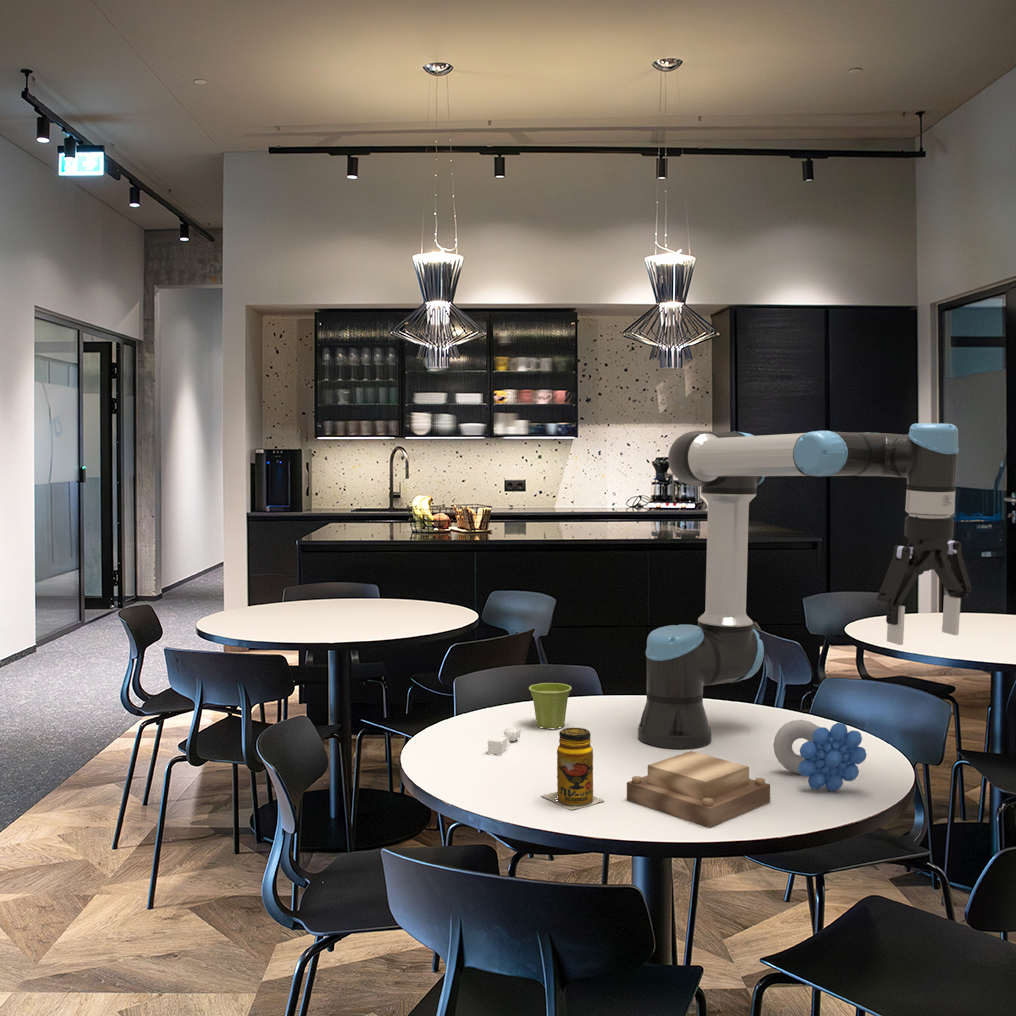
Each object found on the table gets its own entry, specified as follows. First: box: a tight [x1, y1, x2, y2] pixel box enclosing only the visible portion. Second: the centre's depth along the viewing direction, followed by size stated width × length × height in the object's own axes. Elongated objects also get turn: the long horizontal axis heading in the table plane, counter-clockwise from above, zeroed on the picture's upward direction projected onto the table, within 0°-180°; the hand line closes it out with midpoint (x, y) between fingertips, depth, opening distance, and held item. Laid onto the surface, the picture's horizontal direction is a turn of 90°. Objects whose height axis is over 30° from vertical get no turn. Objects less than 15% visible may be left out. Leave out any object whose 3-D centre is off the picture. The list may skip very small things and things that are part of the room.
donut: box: [772, 719, 820, 775], centre depth 169 cm, size 10×4×10 cm, turn 79°
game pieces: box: [487, 726, 522, 756], centre depth 187 cm, size 12×3×3 cm, turn 160°
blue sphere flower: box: [798, 722, 868, 792], centre depth 160 cm, size 12×7×12 cm, turn 87°
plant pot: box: [528, 682, 572, 729], centre depth 203 cm, size 9×9×9 cm
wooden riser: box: [626, 750, 771, 828], centre depth 155 cm, size 17×17×6 cm
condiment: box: [541, 726, 606, 811], centre depth 156 cm, size 7×8×12 cm
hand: (923, 638), depth 157 cm, fingers open, 13 cm apart
